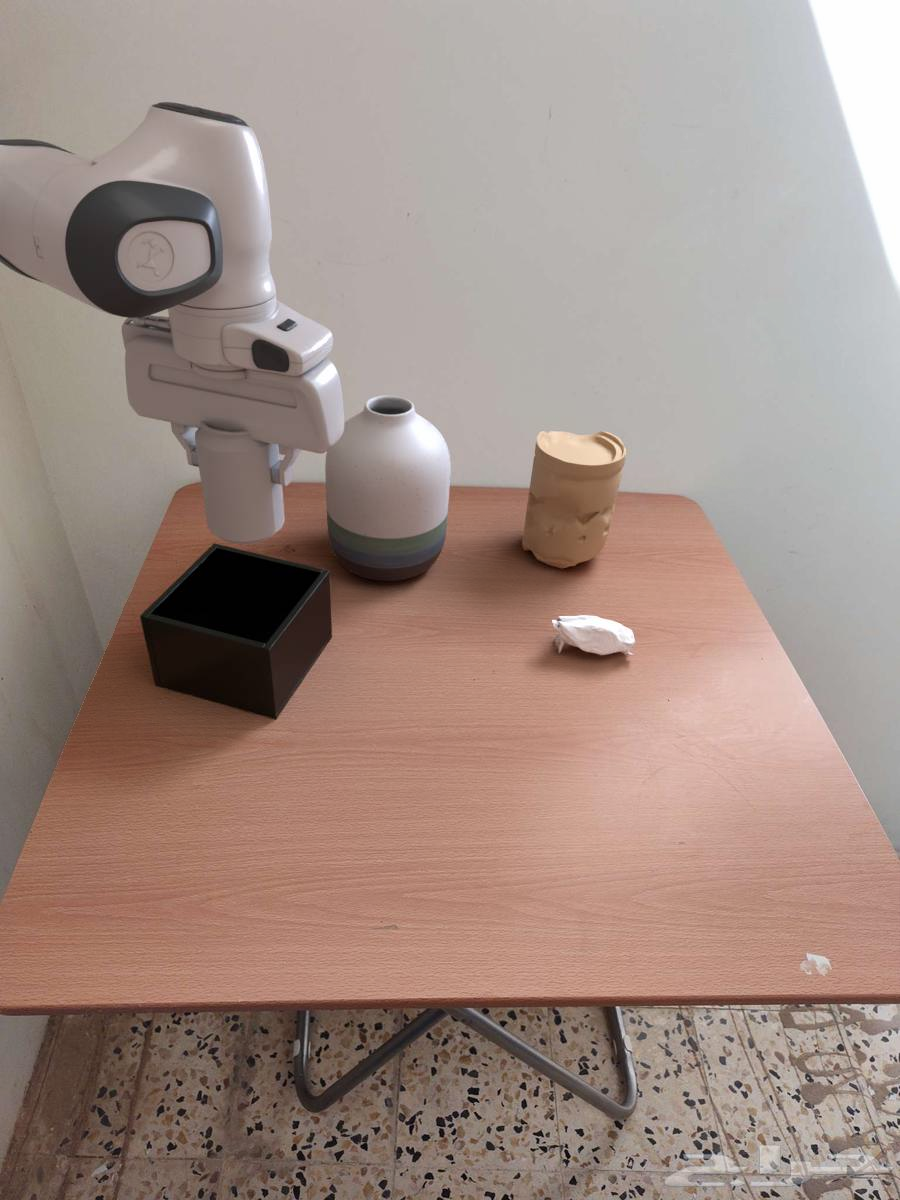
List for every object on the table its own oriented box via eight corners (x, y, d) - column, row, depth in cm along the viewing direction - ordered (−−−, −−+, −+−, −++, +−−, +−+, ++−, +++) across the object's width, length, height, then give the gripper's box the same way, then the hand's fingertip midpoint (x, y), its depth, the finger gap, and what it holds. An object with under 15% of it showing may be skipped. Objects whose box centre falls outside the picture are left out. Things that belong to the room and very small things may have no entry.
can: (245, 501, 84) (233, 392, 77) (300, 524, 81) (294, 413, 74) (191, 532, 79) (173, 418, 72) (249, 558, 76) (236, 442, 69)
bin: (155, 685, 94) (139, 615, 88) (223, 609, 106) (213, 543, 100) (276, 719, 91) (269, 649, 85) (332, 637, 103) (329, 570, 97)
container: (512, 531, 126) (526, 425, 115) (588, 527, 128) (608, 423, 117) (534, 578, 116) (551, 467, 105) (615, 572, 119) (640, 463, 108)
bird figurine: (563, 674, 102) (640, 656, 102) (556, 628, 99) (635, 610, 99) (555, 654, 106) (629, 637, 106) (548, 610, 103) (624, 593, 103)
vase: (443, 596, 111) (455, 438, 97) (321, 590, 111) (314, 429, 96) (444, 531, 125) (454, 383, 110) (335, 525, 124) (331, 375, 110)
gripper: (95, 319, 68) (125, 466, 76) (318, 360, 63) (324, 510, 72) (140, 298, 72) (164, 438, 81) (350, 335, 68) (352, 479, 77)
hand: (241, 473), depth 76 cm, fingers closed on can, 7 cm apart
